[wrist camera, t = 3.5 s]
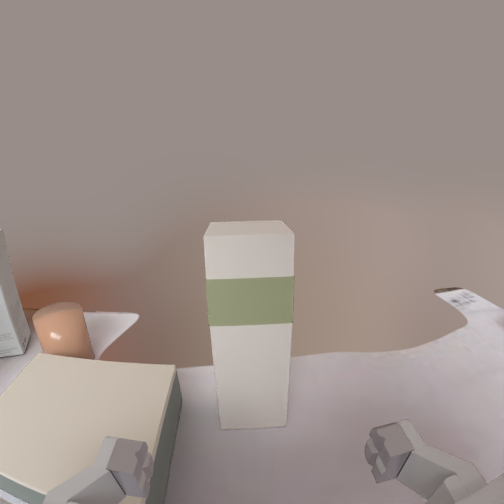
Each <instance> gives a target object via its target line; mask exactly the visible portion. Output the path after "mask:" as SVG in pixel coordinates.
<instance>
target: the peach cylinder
mask: <svg viewBox="0 0 504 504" xmlns="http://www.w3.org/2000/svg"><path fill="white" fill-rule="evenodd" d="M32 320H33V323H34V327H35V330H36V333H37V336H38V339H39V342H40V345H41V348H42V351H43V353H45V354H52V355H59V356H66V357H74V358H82V359H91V360H94V359H95V355H94V352H93V349H92V345H91V341H90V338H89V334H88V330H87V326H86V323H85V318H84V314H83V310H82V307H81V305H79V304H77V303H74V302H61V303H55V304H51V305H48V306H45V307H43V308H41V309H40V310H38V311H37V312H36V313H35V314H34V315H33V317H32Z"/></svg>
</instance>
